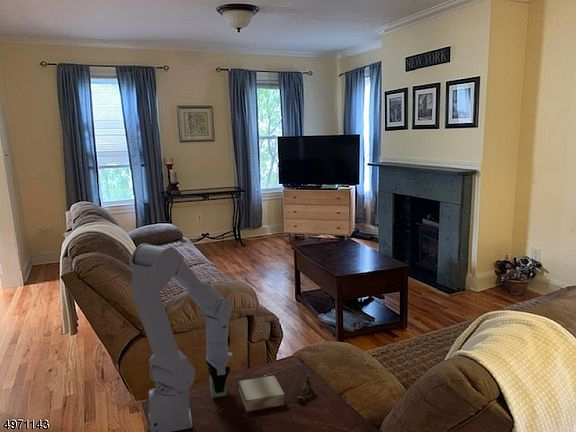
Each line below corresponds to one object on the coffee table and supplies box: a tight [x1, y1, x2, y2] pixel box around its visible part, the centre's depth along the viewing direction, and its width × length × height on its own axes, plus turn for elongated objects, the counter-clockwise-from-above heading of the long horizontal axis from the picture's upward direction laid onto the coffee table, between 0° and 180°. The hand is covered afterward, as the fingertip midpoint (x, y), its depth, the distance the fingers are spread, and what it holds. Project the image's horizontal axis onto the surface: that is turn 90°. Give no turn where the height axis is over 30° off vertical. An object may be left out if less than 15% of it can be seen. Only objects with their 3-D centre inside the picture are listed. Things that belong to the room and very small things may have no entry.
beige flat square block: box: [238, 375, 286, 412], centre depth 113 cm, size 10×10×3 cm
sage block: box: [209, 375, 228, 399], centre depth 116 cm, size 4×4×6 cm
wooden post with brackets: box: [297, 373, 312, 403], centre depth 115 cm, size 2×8×4 cm, turn 160°
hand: (218, 387), depth 116 cm, fingers closed on sage block, 4 cm apart
